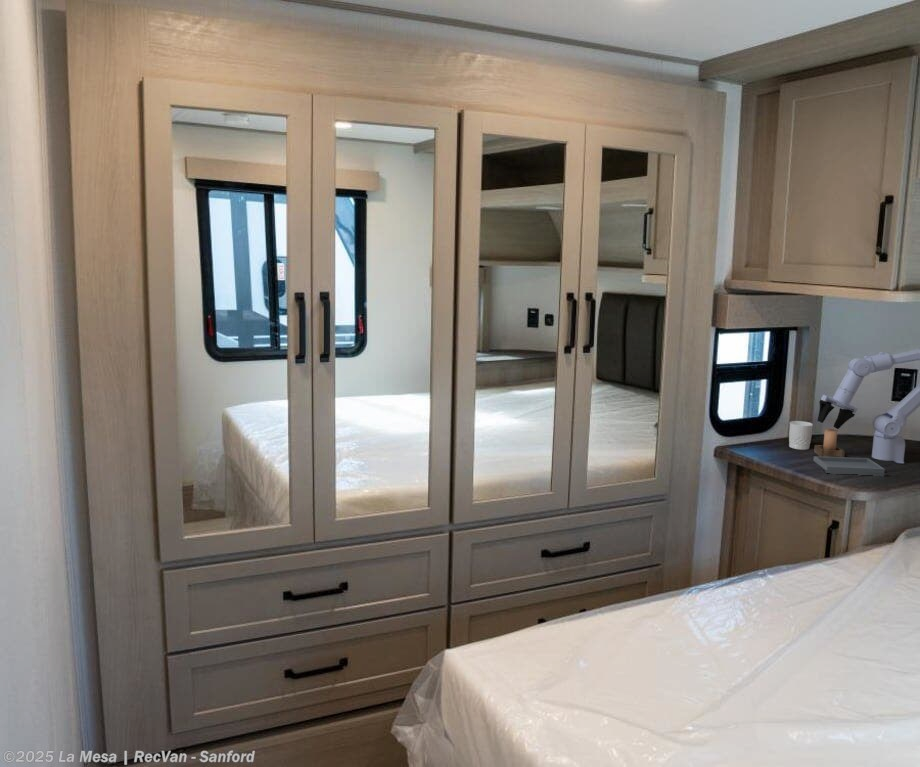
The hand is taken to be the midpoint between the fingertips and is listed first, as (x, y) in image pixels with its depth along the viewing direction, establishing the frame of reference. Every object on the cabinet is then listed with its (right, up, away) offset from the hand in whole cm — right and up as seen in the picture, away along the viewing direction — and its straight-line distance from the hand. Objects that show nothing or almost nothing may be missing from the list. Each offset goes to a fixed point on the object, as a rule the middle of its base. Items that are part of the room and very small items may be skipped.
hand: (827, 424), depth 270 cm
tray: (+1, -14, -13) cm, 19 cm away
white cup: (-5, -10, +13) cm, 17 cm away
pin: (+1, -11, +2) cm, 11 cm away
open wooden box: (+1, -12, +2) cm, 12 cm away
